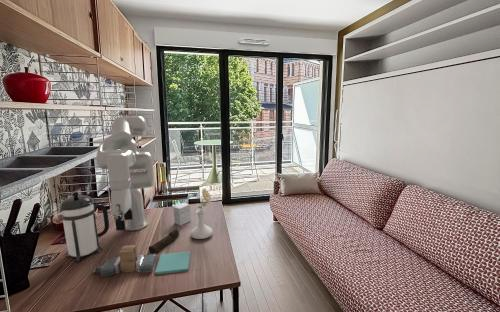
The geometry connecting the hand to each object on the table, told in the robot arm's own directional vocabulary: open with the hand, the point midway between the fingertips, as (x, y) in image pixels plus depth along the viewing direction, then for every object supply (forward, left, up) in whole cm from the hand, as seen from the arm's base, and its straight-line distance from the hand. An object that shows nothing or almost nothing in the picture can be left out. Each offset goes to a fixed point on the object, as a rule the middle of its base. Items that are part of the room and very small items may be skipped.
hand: (124, 224), depth 103 cm
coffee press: (-17, -24, -20) cm, 36 cm away
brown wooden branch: (-18, +12, -20) cm, 29 cm away
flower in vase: (-23, +30, -20) cm, 43 cm away
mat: (0, +18, -20) cm, 27 cm away
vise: (0, -2, -20) cm, 20 cm away
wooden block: (0, 0, -20) cm, 20 cm away
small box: (-41, +18, -20) cm, 49 cm away
